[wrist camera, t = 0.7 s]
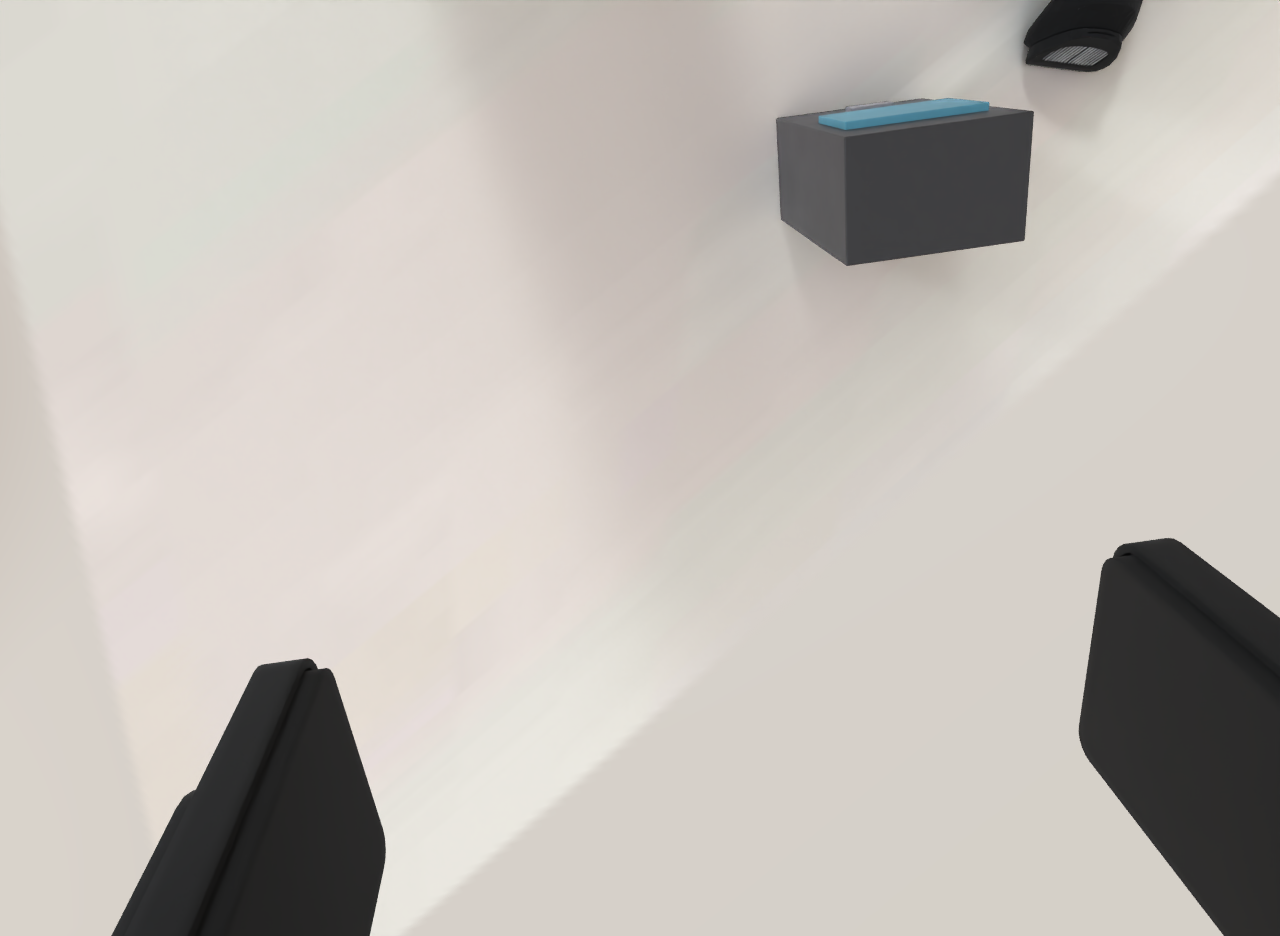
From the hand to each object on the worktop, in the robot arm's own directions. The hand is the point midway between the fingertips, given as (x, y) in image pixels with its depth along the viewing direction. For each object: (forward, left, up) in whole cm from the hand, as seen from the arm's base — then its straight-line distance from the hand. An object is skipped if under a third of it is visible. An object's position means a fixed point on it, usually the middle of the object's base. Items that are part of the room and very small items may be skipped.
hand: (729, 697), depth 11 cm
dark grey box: (-2, +10, -29) cm, 31 cm away
